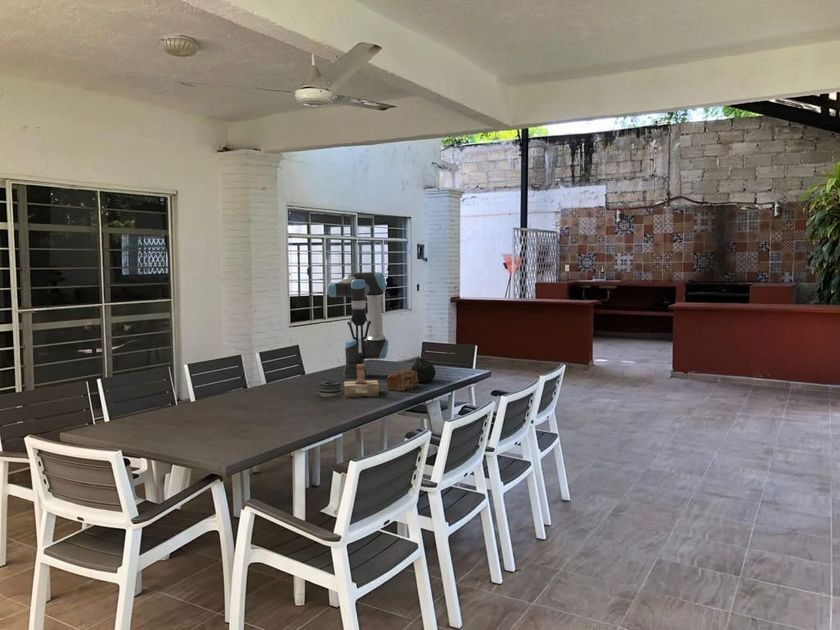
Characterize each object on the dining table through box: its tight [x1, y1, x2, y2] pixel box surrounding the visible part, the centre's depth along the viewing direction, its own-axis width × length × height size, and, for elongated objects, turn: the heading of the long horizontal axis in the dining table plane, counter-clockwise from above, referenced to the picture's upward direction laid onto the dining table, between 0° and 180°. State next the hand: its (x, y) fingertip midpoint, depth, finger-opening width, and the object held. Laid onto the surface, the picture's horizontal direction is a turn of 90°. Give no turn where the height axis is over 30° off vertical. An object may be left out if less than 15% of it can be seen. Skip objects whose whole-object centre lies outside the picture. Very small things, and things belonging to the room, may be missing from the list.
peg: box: [356, 364, 366, 384], centre depth 353 cm, size 4×4×14 cm
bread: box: [386, 369, 419, 392], centre depth 368 cm, size 19×11×10 cm, turn 150°
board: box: [343, 379, 380, 398], centre depth 354 cm, size 14×18×6 cm
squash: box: [410, 357, 437, 384], centre depth 385 cm, size 14×15×15 cm
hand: (360, 352), depth 352 cm, fingers closed
